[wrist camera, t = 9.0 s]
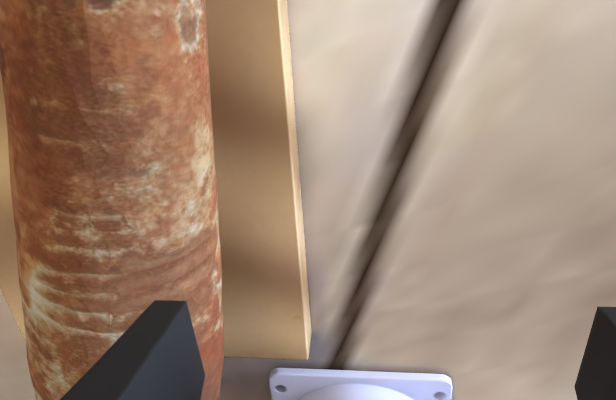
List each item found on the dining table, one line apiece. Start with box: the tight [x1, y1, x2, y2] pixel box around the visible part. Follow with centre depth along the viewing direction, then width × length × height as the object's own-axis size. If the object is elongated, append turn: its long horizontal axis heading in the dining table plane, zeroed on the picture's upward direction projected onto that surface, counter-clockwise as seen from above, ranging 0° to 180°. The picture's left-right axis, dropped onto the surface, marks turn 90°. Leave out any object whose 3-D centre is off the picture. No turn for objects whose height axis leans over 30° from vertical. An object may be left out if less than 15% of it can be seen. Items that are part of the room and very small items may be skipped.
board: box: [0, 0, 311, 360], centre depth 17 cm, size 22×12×2 cm, turn 3°
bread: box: [0, 0, 224, 400], centre depth 15 cm, size 6×19×6 cm, turn 171°
